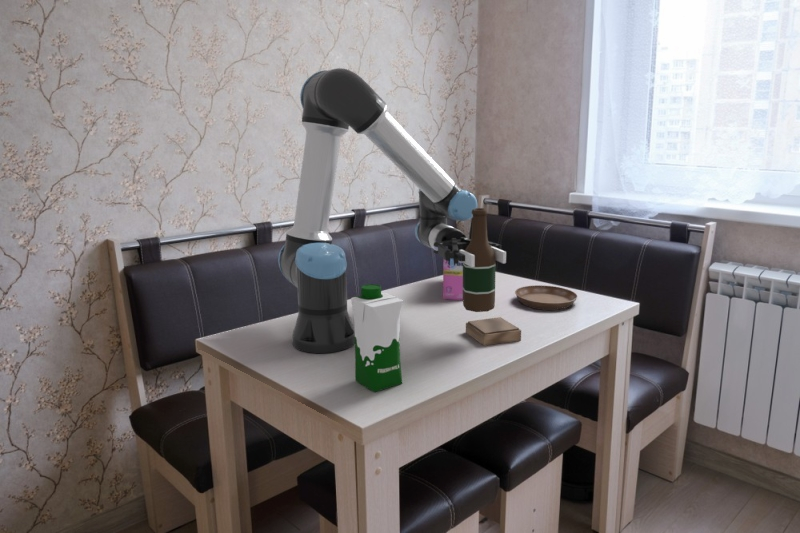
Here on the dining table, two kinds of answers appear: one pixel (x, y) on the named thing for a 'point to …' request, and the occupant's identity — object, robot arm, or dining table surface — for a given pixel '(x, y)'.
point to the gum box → (452, 280)
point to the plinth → (493, 331)
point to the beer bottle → (479, 268)
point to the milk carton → (377, 338)
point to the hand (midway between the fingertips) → (489, 259)
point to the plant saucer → (546, 297)
